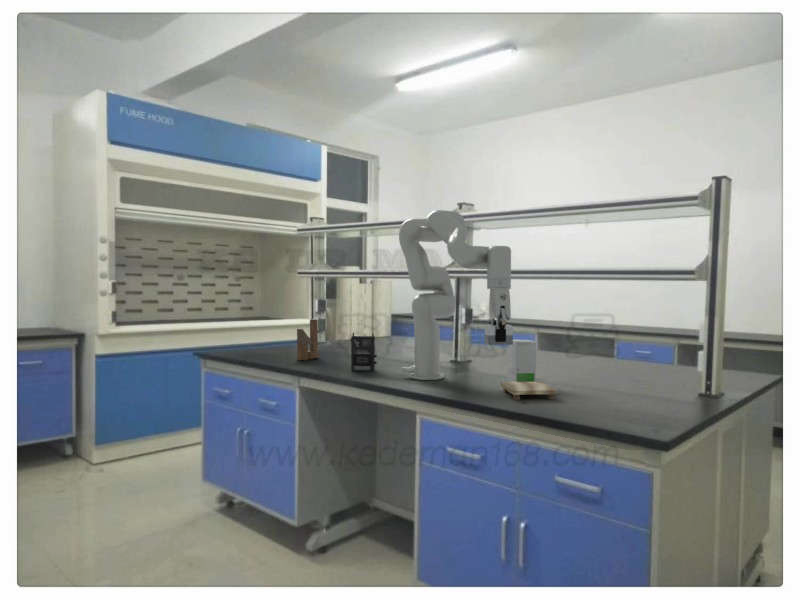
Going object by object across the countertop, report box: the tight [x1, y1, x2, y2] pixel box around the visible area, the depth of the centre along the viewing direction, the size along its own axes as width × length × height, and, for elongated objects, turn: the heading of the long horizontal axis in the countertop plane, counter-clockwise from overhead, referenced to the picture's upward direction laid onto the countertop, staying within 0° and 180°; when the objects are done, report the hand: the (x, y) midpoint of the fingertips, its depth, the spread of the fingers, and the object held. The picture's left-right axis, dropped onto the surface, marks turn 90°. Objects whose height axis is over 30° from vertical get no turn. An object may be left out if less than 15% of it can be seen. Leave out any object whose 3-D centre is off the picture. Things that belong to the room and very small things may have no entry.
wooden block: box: [296, 318, 320, 361], centre depth 254 cm, size 4×11×18 cm, turn 144°
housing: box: [483, 324, 514, 346], centre depth 181 cm, size 5×8×6 cm, turn 95°
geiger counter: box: [350, 332, 377, 372], centre depth 226 cm, size 10×4×15 cm, turn 84°
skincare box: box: [507, 339, 537, 382], centre depth 200 cm, size 8×7×16 cm
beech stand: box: [500, 381, 558, 401], centre depth 181 cm, size 14×14×3 cm
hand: (498, 340), depth 181 cm, fingers closed on housing, 5 cm apart
